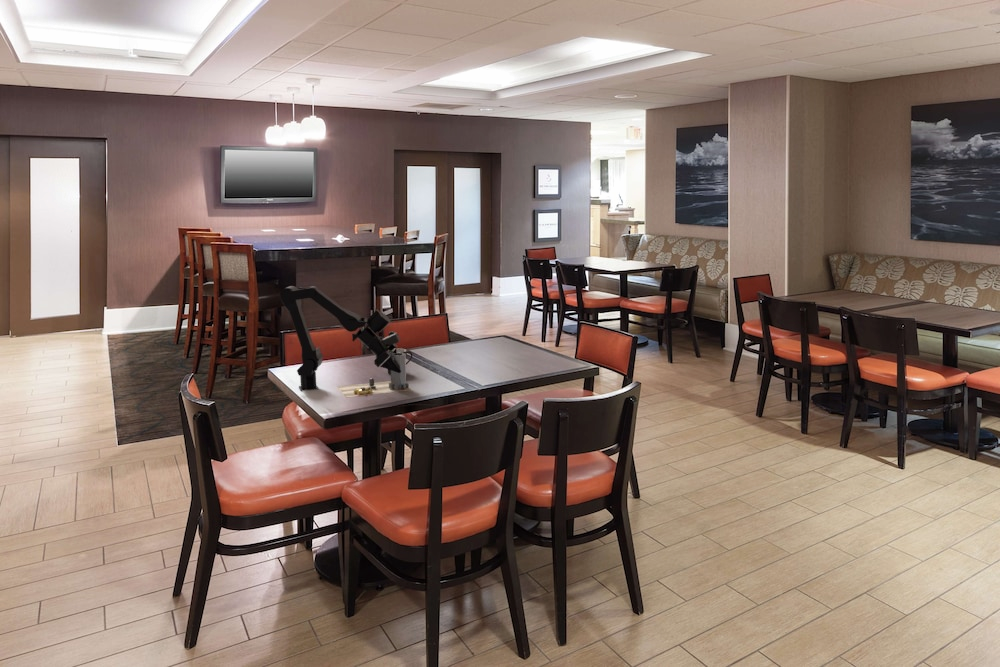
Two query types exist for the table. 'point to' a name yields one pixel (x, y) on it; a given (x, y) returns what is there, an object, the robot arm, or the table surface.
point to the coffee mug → (401, 352)
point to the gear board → (380, 388)
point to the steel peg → (371, 383)
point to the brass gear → (363, 391)
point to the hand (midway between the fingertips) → (402, 369)
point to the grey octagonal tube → (399, 378)
